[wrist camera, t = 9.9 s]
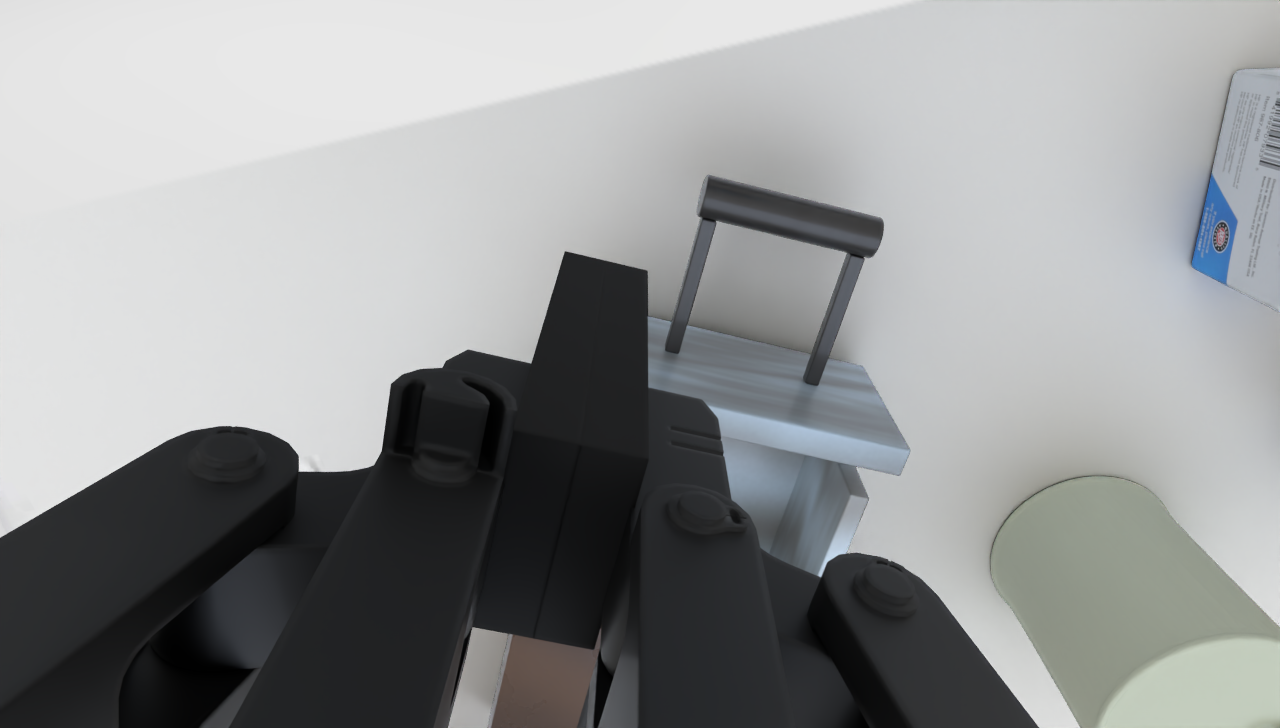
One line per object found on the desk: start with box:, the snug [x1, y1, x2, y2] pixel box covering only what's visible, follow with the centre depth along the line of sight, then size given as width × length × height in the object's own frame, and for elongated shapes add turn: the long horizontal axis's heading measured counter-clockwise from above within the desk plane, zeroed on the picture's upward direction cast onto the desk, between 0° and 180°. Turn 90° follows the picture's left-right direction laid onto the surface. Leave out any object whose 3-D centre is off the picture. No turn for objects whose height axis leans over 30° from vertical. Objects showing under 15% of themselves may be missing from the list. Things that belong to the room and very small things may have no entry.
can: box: [990, 476, 1280, 728], centre depth 39 cm, size 9×9×12 cm
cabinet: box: [487, 624, 602, 728], centre depth 42 cm, size 16×14×10 cm
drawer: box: [648, 175, 910, 577], centre depth 37 cm, size 22×12×8 cm, turn 166°
